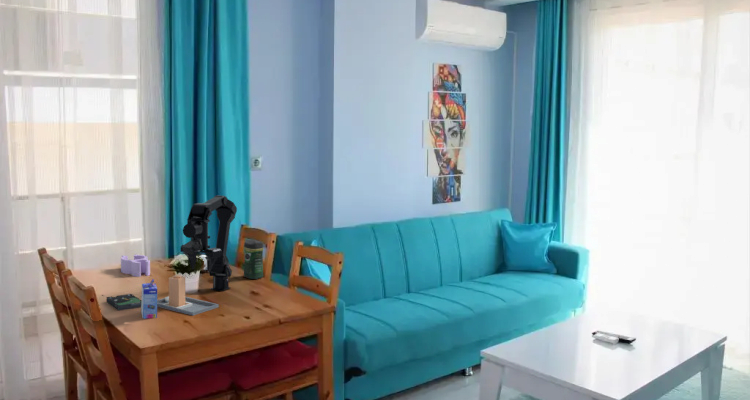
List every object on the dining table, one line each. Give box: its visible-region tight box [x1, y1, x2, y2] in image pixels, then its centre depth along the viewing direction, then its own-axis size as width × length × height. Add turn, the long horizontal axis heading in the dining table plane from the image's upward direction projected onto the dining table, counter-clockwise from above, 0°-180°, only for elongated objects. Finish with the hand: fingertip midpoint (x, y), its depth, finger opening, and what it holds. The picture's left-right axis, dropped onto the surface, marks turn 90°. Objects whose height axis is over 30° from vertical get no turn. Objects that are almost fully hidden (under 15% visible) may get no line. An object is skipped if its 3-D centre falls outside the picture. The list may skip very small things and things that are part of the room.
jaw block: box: [168, 274, 186, 307], centre depth 261 cm, size 5×5×13 cm
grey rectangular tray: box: [157, 295, 220, 316], centre depth 262 cm, size 24×14×3 cm, turn 60°
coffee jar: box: [243, 239, 264, 280], centre depth 315 cm, size 10×8×19 cm
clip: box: [120, 253, 151, 278], centre depth 318 cm, size 20×12×7 cm, turn 40°
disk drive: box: [106, 293, 141, 312], centre depth 264 cm, size 10×3×15 cm
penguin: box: [198, 254, 207, 271], centre depth 326 cm, size 9×8×15 cm
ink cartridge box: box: [140, 278, 158, 320], centre depth 249 cm, size 10×6×14 cm, turn 23°
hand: (200, 270), depth 272 cm, fingers open, 9 cm apart
